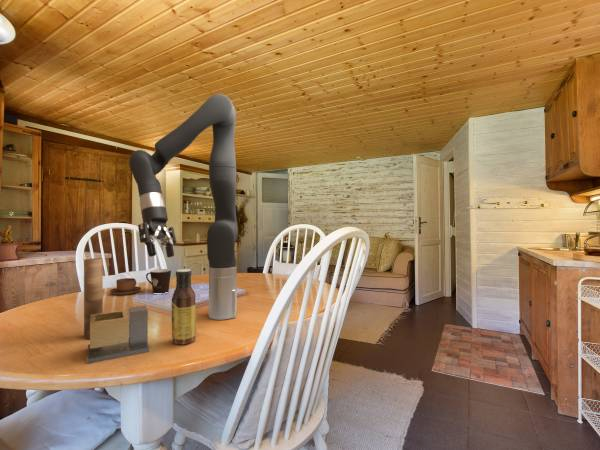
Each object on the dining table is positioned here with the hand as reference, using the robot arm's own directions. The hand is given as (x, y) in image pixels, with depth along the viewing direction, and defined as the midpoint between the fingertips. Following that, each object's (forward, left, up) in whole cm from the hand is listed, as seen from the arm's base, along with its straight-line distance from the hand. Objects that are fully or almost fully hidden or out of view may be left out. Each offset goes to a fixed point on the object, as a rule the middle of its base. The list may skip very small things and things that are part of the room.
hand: (162, 256), depth 102 cm
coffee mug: (+14, -43, -22) cm, 50 cm away
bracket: (+5, +20, -22) cm, 30 cm away
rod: (+16, +10, -22) cm, 28 cm away
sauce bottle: (-10, +16, -22) cm, 29 cm away
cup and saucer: (+28, -43, -22) cm, 55 cm away
